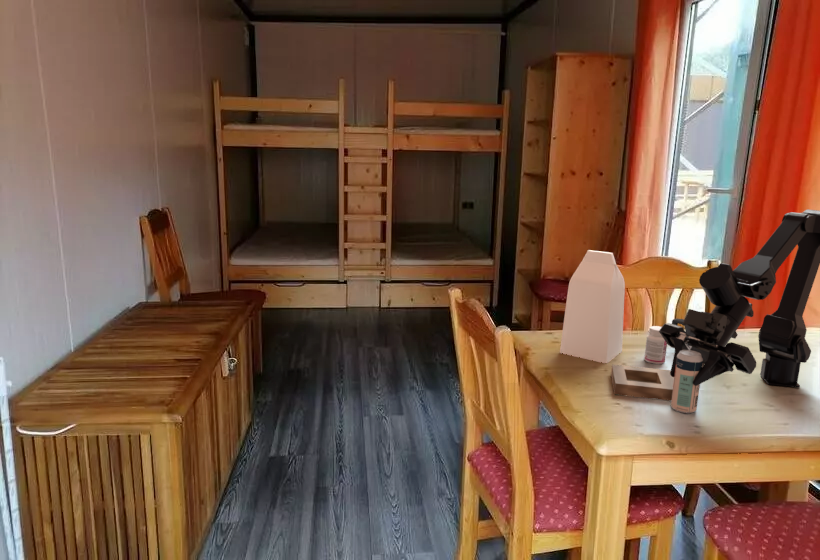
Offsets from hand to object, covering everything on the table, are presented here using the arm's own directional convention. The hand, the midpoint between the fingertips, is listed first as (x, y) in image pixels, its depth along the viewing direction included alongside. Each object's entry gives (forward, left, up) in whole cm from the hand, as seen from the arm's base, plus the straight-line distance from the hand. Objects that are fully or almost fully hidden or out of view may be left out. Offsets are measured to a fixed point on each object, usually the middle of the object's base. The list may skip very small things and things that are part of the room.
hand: (682, 380), depth 123 cm
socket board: (+4, -11, -7) cm, 14 cm away
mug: (-9, -37, -7) cm, 39 cm away
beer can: (-1, -1, -7) cm, 7 cm away
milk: (+16, -32, -7) cm, 36 cm away
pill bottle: (+1, -30, -7) cm, 31 cm away
